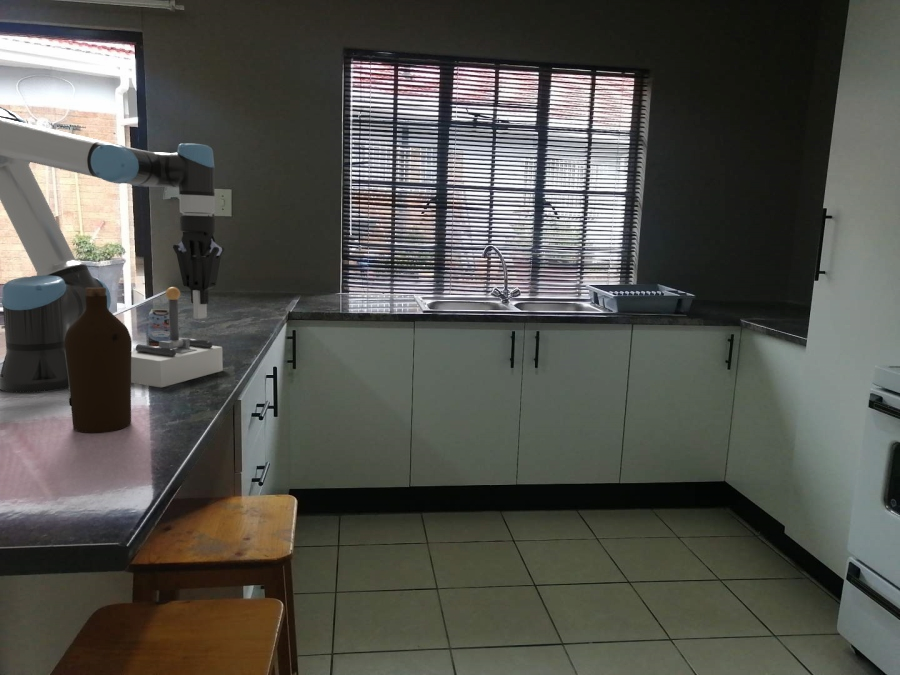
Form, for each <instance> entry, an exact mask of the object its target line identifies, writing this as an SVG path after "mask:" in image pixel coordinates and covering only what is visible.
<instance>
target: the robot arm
mask: <svg viewBox="0 0 900 675" xmlns="http://www.w3.org/2000/svg"><path fill="white" fill-rule="evenodd" d="M214 160H215V159H214V151H213V149H212V147H210V145H206V144H202V143H201V144H200V143H180V144H178V146H177V150H176V152H171V153H170V152H156V151H148V150H144V149H143V150H142V149H139V148H133V147H129V146H124V145H122V144H121V145H120V144H118V143H111V142H108V141H107V142H106V141H101V140H100V139H99V140H98V139H93V138H89V137H87V136H81V135H76V134H73V133H69V132H64V131H60V130H55V129H50V128H47V127H42V126H37V125H33V124H29V123H27V122H26V121H25V120H24V119H23V118H22V117H20V115H18V114H17V113H15V112H13V111H11V110H9V109H6V108H4V107H1V106H0V203H1V204H2V206H3V209H4V210H5V213H6V214H7V216H8V218H9V220H10V223H11V225H12V226H13V228H14V230H15V232H16V234H17V236H18V239H19V240H20V242H21V245H22V246H23V248H24V250H25V252H26V254H27V256H28V258H29V260H30V262H31V264H32V266H33V268H34V271H35V272H36V275H33V276H32V275H31V276H23V277H18V278H14V279H11V280H8V281H6V282H5V283H4V284H3V287H2V297H1V304H2V310H3V322H4V334H5V335H4V337H5V349H6V350H5V357H4V359H3V363H2V366H1V371H0V390H1V391H3V392H8V393H9V392H10V393H20V394H21V393H44V392H52V391H58V390H63V389H69V383H68V374H67V366H66V358H65V350H64V340H65V336H66V333H67V330H68V329H69V327H70V326H71V325H72V324H73V323H74V322H75V321H76V320H77V319H78V318H79V317H80V316H81V315H82V314H83V312H84V311H85V310H86V300H85V296H86V288H88V287H104V288H106V295H107V308H108V310H109V311H110V308H111V304H112V298H111V296H112V295H111V293H110V290H109V287H108V286H107V285H106V283H105V282H104V281H102V280H101V279H99V278H97V277H95V276H92V275H91V272H90V270H89V268H88V266H87V265H86V263H84V262H81V261H78V260H77V259H76V257H75V256H74V253H73V252H72V249H71V248H70V246H69V243H68V242H67V239H66V237H65V236H64V234H63V232H62V229H61V228H60V226H59V224H58V221H57V220H56V217H55V215H54V214H53V211H52V210H51V207H50V205H49V203H48V201H47V200H46V197H45V195H44V193H43V191H42V189H41V187H40V185H39V183H38V180H37V179H36V176H35V175H34V173H33V171H32V169H31V166H30V163H33V164H38V165H42V166H46V167H50V168H55V169H59V170H63V171H67V172H72V173H77V174H81V175H84V176H90V177H94V178H98V179H100V180H104V181H106V182H109V183H112V184H119V185H120V184H121V185H122V184H128V185H131V186H137V187H141V188H142V187H144V188H148V187H154V188H157V187H158V188H161V187H162V188H163V187H164V188H178V193H179V197H178V198H179V213H181V214H182V215H180V216H179V224H180V225H179V227H180V228H179V230H180V232H182V236H181V241H180V242H179V243H178V244H173V246H172V248H173V250H174V253H175V255H176V258H177V263H178V266H179V271H180V276H181V277H180V278H181V282H182V285H183V286H184V287H187V288H189V290H190V298H191V299H190V301H191V304H192V305H193V306H192V307H193V313H192V314H193V319H196V320H201V319H207V317H208V314H207V313H208V312H207V310H208V309H207V308H208V307H207V306H208V304H209V300H210V299H209V290H210V289H213V288H216V286H217V282H218V281H217V280H218V277H219V276H218V275H219V270H220V263H221V259H222V255H223V254H224V252H225V247H224V246H220V245H219V244H217V243H216V239H215V237H214V236H215V235H214V234H215V233H216V218H215V216H213V215H214V214H215V213H216V209H215V208H216V204H215V203H216V202H215V201H216V200H215V167H216V165H215V161H214Z"/></svg>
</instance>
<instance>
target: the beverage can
mask: <svg viewBox="0 0 900 675" xmlns="http://www.w3.org/2000/svg"><path fill="white" fill-rule="evenodd" d="M159 341H170V329H169V308H168V309H167V308H166V309H165V308H151V309H150V311H149V313H148V344H147V345H149V346H156V347H157V346H159Z"/></svg>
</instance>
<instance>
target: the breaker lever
mask: <svg viewBox="0 0 900 675" xmlns="http://www.w3.org/2000/svg"><path fill="white" fill-rule="evenodd" d="M165 296H166V299H167V300H168V309H169V329H170V341H168V342H173V348H177V347H182V346H183V340H182V339H179V337H180V334H179V333H180V332H179V331H180V330H179V298H180V296H181V291H180V289H179V288H178V287H176V286H171V287H170V286H169V287H168V288H167V289H166V291H165Z"/></svg>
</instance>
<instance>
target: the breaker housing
mask: <svg viewBox="0 0 900 675" xmlns="http://www.w3.org/2000/svg"><path fill="white" fill-rule="evenodd" d="M179 339H182V340H183V346H182V347H177V348H173V342H168V341H159V346H157V347H156V346H149V345H148V344H140V343H139V344H137V345H136V346H135V350H131V384H137V385H143V386H150V387H155V388H165V387H169V386H172V385H175V384H179V383H183V382H186V381H189V380H193V379H197V378H200V377H201V378H202V377H204V376H207V375H212V374H215V373H219V372H223V371H224V370H223V369H224V368H223V360H224V359H223V346H219V345H218V346H217V345H213V344H214V343H213V341H211V340H205V339H197V338H189V337H183V336H182V337H180V336H179Z"/></svg>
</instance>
